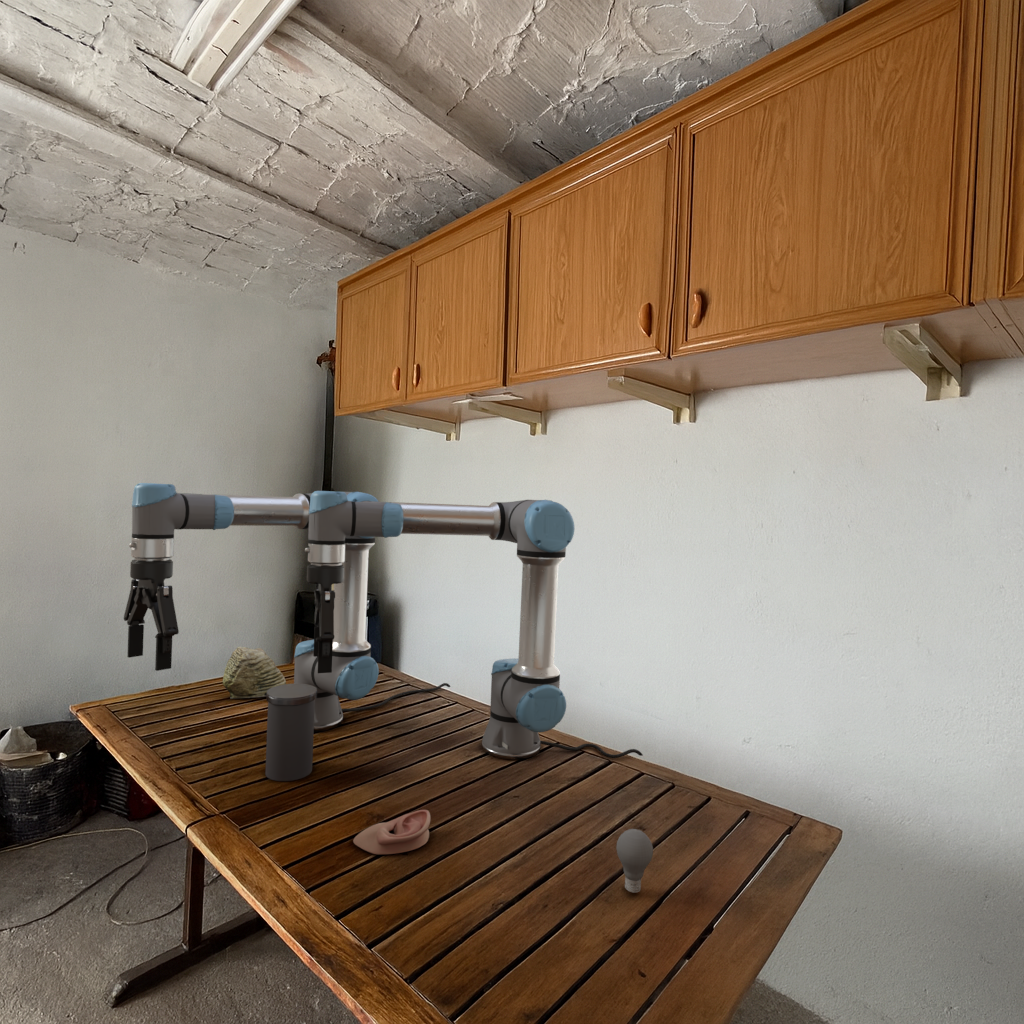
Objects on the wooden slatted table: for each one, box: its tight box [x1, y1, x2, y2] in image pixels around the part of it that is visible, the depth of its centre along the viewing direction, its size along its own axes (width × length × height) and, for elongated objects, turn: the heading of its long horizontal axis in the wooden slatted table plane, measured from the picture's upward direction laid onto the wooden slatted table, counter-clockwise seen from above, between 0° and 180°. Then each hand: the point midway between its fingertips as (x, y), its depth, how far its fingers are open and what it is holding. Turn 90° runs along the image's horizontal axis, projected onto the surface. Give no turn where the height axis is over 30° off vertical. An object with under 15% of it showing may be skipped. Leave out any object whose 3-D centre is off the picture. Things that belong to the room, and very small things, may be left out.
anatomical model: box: [352, 809, 431, 856], centre depth 118 cm, size 13×4×12 cm
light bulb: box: [615, 828, 654, 894], centre depth 106 cm, size 6×6×10 cm
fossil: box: [222, 646, 287, 699], centre depth 198 cm, size 9×18×15 cm, turn 132°
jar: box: [264, 700, 315, 782], centre depth 145 cm, size 10×10×18 cm
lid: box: [265, 683, 317, 706], centre depth 145 cm, size 11×11×2 cm
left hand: (148, 662), depth 129 cm, fingers open, 13 cm apart
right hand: (322, 664), depth 134 cm, fingers open, 13 cm apart
